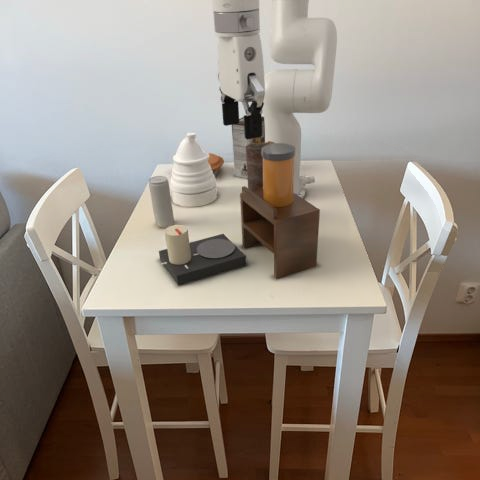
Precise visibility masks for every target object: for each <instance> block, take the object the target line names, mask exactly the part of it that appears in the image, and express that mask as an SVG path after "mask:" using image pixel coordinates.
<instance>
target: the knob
mask: <svg viewBox="0 0 480 480" xmlns="http://www.w3.org/2000/svg"><path fill="white" fill-rule="evenodd" d="M164 237H165V244H166V249H167V250H168V256H169V261H170V262H171V263H172V264H176V265H181V264H185V263H188V262H189V261H190V260H191V252H190V244H189V243H190V239H189V229H188V227H187V226H186V225H183V224H173V225H172V226H169V227H167V228H164Z"/></svg>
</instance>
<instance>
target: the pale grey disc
mask: <svg viewBox="0 0 480 480" xmlns="http://www.w3.org/2000/svg"><path fill="white" fill-rule="evenodd" d="M229 240H230V239H229ZM229 240H225V239H212V240H207V241H205V242H203V243H201V244H200V245H199V246H198V247H197V253H198V254H199V255H200V256H201V257H204V258H207V259H220V258H224V257H227V256H229V255H231V254H232V253H233V252H234V251H235V246H236V244H235V243H234V242H233V241H232V240H230V241H229Z"/></svg>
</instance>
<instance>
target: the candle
mask: <svg viewBox="0 0 480 480" xmlns="http://www.w3.org/2000/svg"><path fill="white" fill-rule="evenodd" d="M269 144H275V143H274V142H271V141H268V142H265V143H250V144H248V145H247V146H246V161H247V176H248V178H247V188H248V189H250V190H256V189H260V188H263V157H262V155H261V149H262V147H264V146H266V145H269Z"/></svg>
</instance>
